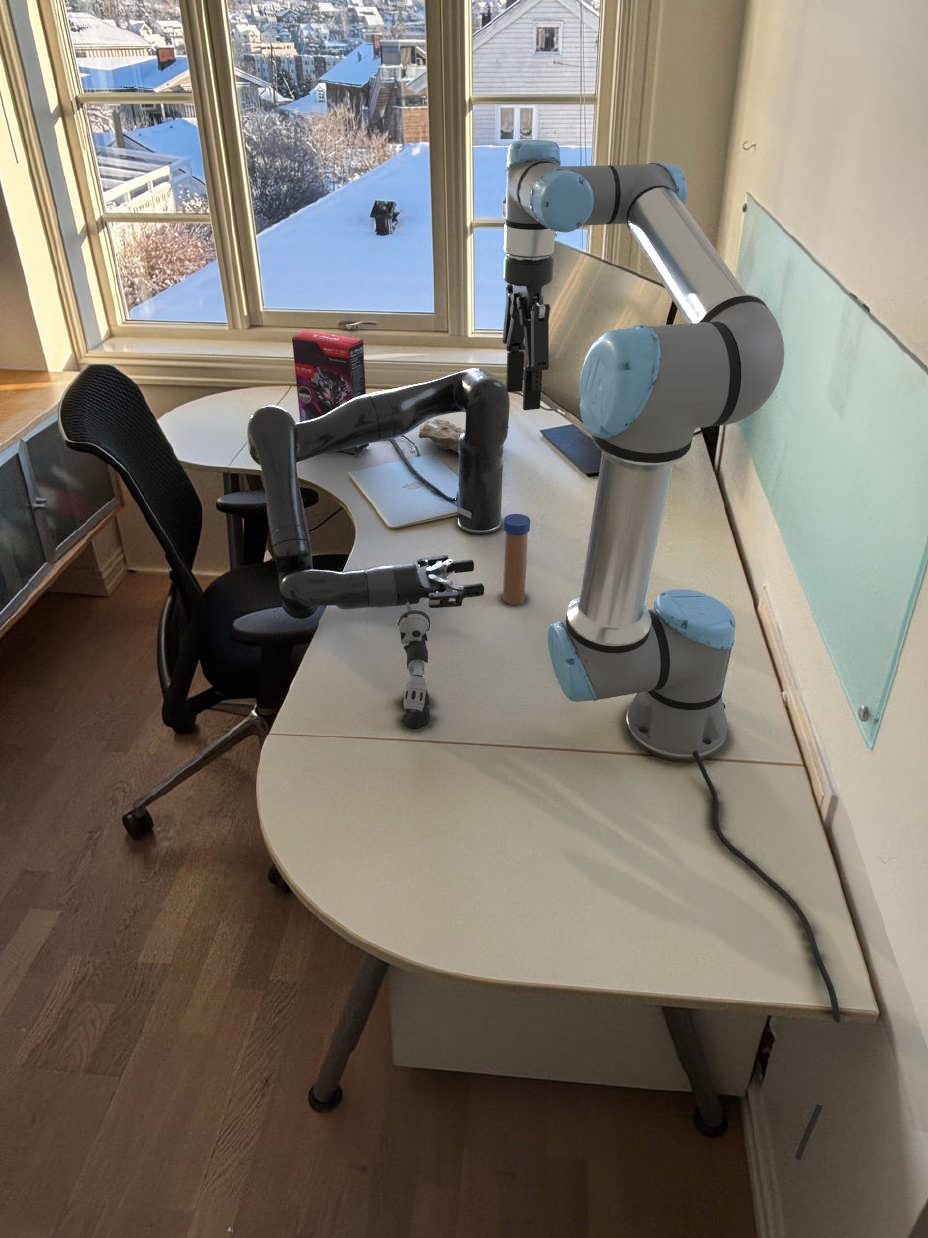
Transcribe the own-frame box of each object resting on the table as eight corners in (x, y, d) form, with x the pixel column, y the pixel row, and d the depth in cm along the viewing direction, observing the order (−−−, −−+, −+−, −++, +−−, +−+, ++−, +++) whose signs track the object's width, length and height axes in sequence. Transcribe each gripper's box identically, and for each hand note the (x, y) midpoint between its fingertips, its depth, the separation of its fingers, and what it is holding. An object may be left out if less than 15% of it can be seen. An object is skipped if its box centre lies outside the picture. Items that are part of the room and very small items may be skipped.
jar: (509, 591, 177) (512, 514, 167) (528, 597, 175) (532, 520, 166) (499, 601, 174) (501, 523, 165) (518, 607, 172) (521, 529, 163)
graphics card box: (299, 442, 234) (289, 335, 219) (315, 433, 239) (306, 328, 224) (356, 456, 228) (349, 346, 213) (371, 446, 233) (365, 338, 218)
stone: (402, 443, 226) (407, 419, 224) (421, 434, 240) (426, 412, 237) (483, 468, 223) (489, 444, 220) (497, 458, 236) (503, 435, 234)
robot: (432, 752, 138) (431, 644, 127) (400, 753, 138) (395, 645, 127) (430, 673, 154) (428, 571, 143) (401, 674, 154) (397, 571, 143)
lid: (511, 520, 169) (511, 511, 168) (534, 526, 167) (534, 517, 166) (499, 531, 165) (499, 521, 164) (522, 537, 163) (522, 528, 162)
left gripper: (386, 582, 175) (470, 574, 178) (397, 624, 163) (486, 615, 166) (385, 548, 171) (471, 540, 173) (396, 589, 159) (487, 579, 162)
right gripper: (578, 269, 132) (566, 420, 145) (529, 239, 149) (523, 376, 162) (528, 272, 131) (521, 424, 143) (485, 241, 147) (482, 380, 160)
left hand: (478, 577), depth 170 cm, fingers open, 8 cm apart
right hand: (522, 399), depth 152 cm, fingers open, 8 cm apart
